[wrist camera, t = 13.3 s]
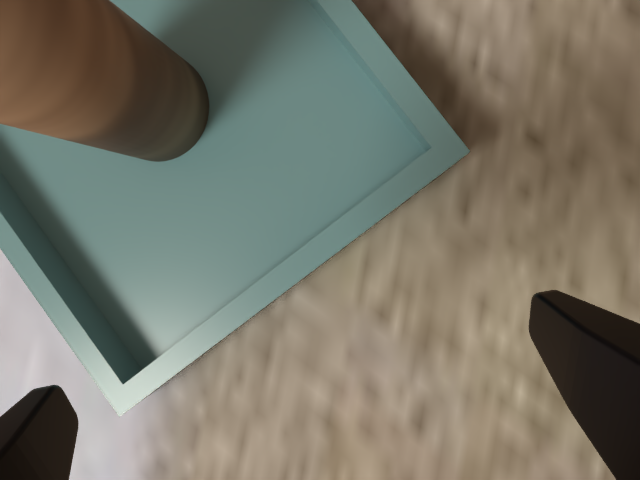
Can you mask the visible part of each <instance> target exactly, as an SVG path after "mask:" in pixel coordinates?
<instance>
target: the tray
mask: <svg viewBox="0 0 640 480" xmlns="http://www.w3.org/2000/svg"><path fill="white" fill-rule="evenodd" d="M110 1H111V2H112V3H114V4H115V5H116V6H117V7H119V8H120V9H121V10H122V11H124V12H125V13H126V14H127V15H129V16H130V17H131V18H133V19H134V20H135V21H136V22H138V23H139V24H140V25H141V26H143V27H144V28H145V29H146V30H148V31H149V32H150V33H151V34H153V35H154V36H155V37H156V38H158V39H159V40H160V41H162V42H163V43H164V44H165V45H167V46H168V47H169V48H170V49H172V50H173V51H174V52H175V53H177V54H178V55H179V56H180V57H182V58H183V59H184V60H186V61H187V62H188V63H189V64H190V65H192V66H193V67H194V68H195V69H196V71H197V72H198V73H199V75H200V76H201V78H202V79H203V81H204V83H205V86H206V89H207V92H208V97H209V116H208V121H207V124H206V127H205V129H204V132H203V134H202V135H201V137H200V139H199V140H198V141H197V143H196V144H195V145H194V146H193V147H192V148H191V149H190V150H189V151H187V152H186V153H185V154H183V155H181V156H179V157H177V158H175V159H172V160H168V161H161V162H154V161H148V160H143V159H139V158H135V157H131V156H127V155H123V154H119V153H115V152H111V151H107V150H103V149H99V148H95V147H91V146H87V145H83V144H79V143H75V142H71V141H67V140H63V139H59V138H55V137H51V136H47V135H43V134H39V133H35V132H31V131H27V130H23V129H19V128H15V127H11V126H7V125H3V124H0V249H1V250H2V251H3V253H4V254H5V256H6V257H7V258H8V260H9V261H10V263H11V264H12V266H13V267H14V268H15V270H16V271H17V273H18V274H19V275H20V277H21V278H22V280H23V281H24V283H25V284H26V285H27V287H28V288H29V290H30V291H31V292H32V294H33V295H34V297H35V298H36V300H37V301H38V302H39V304H40V305H41V307H42V308H43V309H44V311H45V312H46V314H47V315H48V317H49V318H50V319H51V321H52V322H53V324H54V325H55V326H56V328H57V329H58V331H59V332H60V334H61V335H62V336H63V338H64V339H65V341H66V342H67V343H68V345H69V346H70V348H71V349H72V350H73V352H74V353H75V355H76V356H77V358H78V359H79V360H80V362H81V363H82V365H83V366H84V367H85V369H86V370H87V372H88V373H89V375H90V376H91V377H92V379H93V380H94V382H95V383H96V384H97V386H98V387H99V389H100V390H101V392H102V393H103V394H104V396H105V397H106V399H107V400H108V401H109V403H110V404H111V406H112V407H113V409H114V410H115V411H116V413H117V414H118V416H119V417H120V416H121V415H123V414H124V413H126V412H127V411H128V410H130V409H131V408H132V407H134V406H135V405H136V404H138V403H139V402H141V401H142V400H143V399H145V398H146V397H147V396H149V395H150V394H151V393H153V392H154V391H155V390H157V389H158V388H159V387H161V386H162V385H163V384H165V383H166V382H167V381H169V380H170V379H171V378H173V377H174V376H175V375H176V374H178V373H179V372H180V371H182V370H183V369H184V368H186V367H187V366H188V365H190V364H191V363H192V362H194V361H195V360H196V359H198V358H199V357H200V356H202V355H203V354H204V353H206V352H207V351H208V350H210V349H211V348H212V347H214V346H215V345H216V344H217V343H219V342H220V341H221V340H223V339H224V338H225V337H227V336H228V335H229V334H231V333H232V332H233V331H235V330H236V329H237V328H239V327H240V326H241V325H243V324H244V323H245V322H247V321H248V320H249V319H251V318H252V317H253V316H255V315H256V314H257V313H259V312H260V311H261V310H262V309H264V308H265V307H266V306H268V305H269V304H270V303H272V302H273V301H274V300H276V299H277V298H278V297H280V296H281V295H282V294H284V293H285V292H286V291H288V290H289V289H290V288H292V287H293V286H294V285H296V284H297V283H298V282H300V281H301V280H302V279H303V278H305V277H306V276H307V275H309V274H310V273H311V272H313V271H314V270H315V269H317V268H318V267H319V266H321V265H322V264H323V263H325V262H326V261H327V260H329V259H330V258H331V257H333V256H334V255H335V254H337V253H338V252H339V251H341V250H342V249H343V248H344V247H346V246H347V245H348V244H350V243H351V242H352V241H354V240H355V239H356V238H358V237H359V236H360V235H362V234H363V233H364V232H366V231H367V230H368V229H370V228H371V227H372V226H374V225H375V224H376V223H378V222H379V221H380V220H382V219H383V218H384V217H386V216H387V215H388V214H389V213H391V212H392V211H393V210H395V209H396V208H397V207H399V206H400V205H401V204H403V203H404V202H405V201H407V200H408V199H409V198H411V197H412V196H413V195H415V194H416V193H417V192H419V191H420V190H421V189H423V188H424V187H425V186H427V185H428V184H429V183H430V182H432V181H433V180H434V179H436V178H437V177H438V176H440V175H441V174H442V173H444V172H445V171H446V170H448V169H449V168H450V167H452V166H453V165H454V164H456V163H457V162H458V161H460V160H461V159H462V158H463V157H464V156H466V155H467V154H468V153H469V152H470V151H469V149H468V148H467V147H466V145H465V144H464V143H463V142H462V140H461V139H460V138H459V137H458V135H457V134H456V133H455V131H454V130H453V129H452V128H451V126H450V125H449V124H448V123H447V121H446V120H445V119H444V117H443V116H442V115H441V114H440V112H439V111H438V110H437V109H436V107H435V106H434V105H433V103H432V102H431V101H430V100H429V98H428V97H427V96H426V95H425V93H424V92H423V91H422V89H421V88H420V87H419V86H418V84H417V83H416V82H415V81H414V79H413V78H412V77H411V75H410V74H409V73H408V72H407V70H406V69H405V68H404V67H403V65H402V64H401V63H400V61H399V60H398V59H397V58H396V56H395V55H394V54H393V53H392V51H391V50H390V49H389V47H388V46H387V45H386V44H385V42H384V41H383V40H382V39H381V37H380V36H379V35H378V33H377V32H376V31H375V30H374V28H373V27H372V26H371V25H370V23H369V22H368V21H367V19H366V18H365V17H364V16H363V14H362V13H361V12H360V11H359V9H358V8H357V7H356V5H355V4H354V3H353V2H352V0H110Z"/></svg>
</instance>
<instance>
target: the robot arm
mask: <svg viewBox="0 0 640 480" xmlns="http://www.w3.org/2000/svg"><path fill="white" fill-rule="evenodd" d="M529 333H530V336H531V339H532V341H533V343H534V345H535V347H536V348H537V350H538V352H539V354H540V356H541V358H542V360H543V362H544V364H545V365H546V367H547V369H548V371H549V373H550V375H551V377H552V379H553V380H554V382H555V384H556V386H557V388H558V390H559V392H560V394H561V396H562V397H563V399H564V401H565V403H566V404H567V406H568V408H569V410H570V411H571V413H572V414H573V416H574V417H575V419H576V420H577V422H578V423H579V425H580V426H581V428H582V429H583V431H584V432H585V434H586V435H587V437H588V438H589V440H590V441H591V443H592V444H593V446H594V447H595V449H596V450H597V452H598V453H599V455H600V456H601V458H602V459H603V461H604V462H605V463H606V465H607V466H608V468H609V469H610V471H611V472H612V474H613V475H614V477H615V478H616V480H640V324H639V323H637V322H634V321H632V320H629V319H627V318H624V317H622V316H619V315H617V314H614V313H612V312H609V311H607V310H605V309H602V308H600V307H597V306H595V305H592V304H590V303H587V302H585V301H582V300H580V299H577V298H575V297H572V296H570V295H568V294H565V293H563V292H560V291H557V290H550V291H544V292H539V293H536V294H534V295H533V297H532V300H531V309H530V319H529ZM77 432H78V417H77V414H76V412H75V410H74V409H73V407H72V405H71V403H70V402H69V400H68V398H67V396H66V395H65V393H64V391H63V390H62V388H61V387H59V386H58V385H51V386H46V387H40V388H36V389H34V390H32V391H30V392H29V393H28V394H27V395H26V396H24V397H23V398H22V399H21V400H20V401H19V402H17V403H16V404H15V405H14V406H13V407H11V408H10V409H9V410H8V411H7V412H5V413H4V414H3V415H2V416H1V417H0V480H69V476H70V470H71V465H72V459H73V454H74V448H75V443H76V437H77Z"/></svg>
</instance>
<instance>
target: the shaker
mask: <svg viewBox="0 0 640 480" xmlns="http://www.w3.org/2000/svg"><path fill="white" fill-rule="evenodd" d="M208 116H209V97H208V92H207V89H206V86H205V83H204V81H203V79H202V78H201V76H200V75H199V73H198V72H197V71H196V69H195V68H194V67H193V66H192V65H190V64H189V63H188V62H187V61H186V60H184V59H183V58H182V57H180V56H179V55H178V54H177V53H175V52H174V51H173V50H172V49H170V48H169V47H168V46H167V45H165V44H164V43H163V42H162V41H160V40H159V39H158V38H156V37H155V36H154V35H153V34H151V33H150V32H149V31H148V30H146V29H145V28H144V27H143V26H141V25H140V24H139V23H138V22H136V21H135V20H134V19H133V18H131V17H130V16H129V15H127V14H126V13H125V12H124V11H122V10H121V9H120V8H119V7H117V6H116V5H115V4H114V3H112V2H111V1H110V0H0V124H3V125H7V126H11V127H15V128H19V129H23V130H27V131H31V132H35V133H39V134H43V135H47V136H51V137H55V138H59V139H63V140H67V141H71V142H75V143H79V144H83V145H87V146H91V147H95V148H99V149H103V150H107V151H111V152H115V153H119V154H123V155H127V156H131V157H135V158H139V159H143V160H148V161H154V162H161V161H168V160H172V159H175V158H177V157H179V156H181V155H183V154H185V153H186V152H187V151H189V150H190V149H191V148H192V147H193V146H194V145H195V144H196V143H197V141H198V140H199V139H200V137H201V135H202V134H203V132H204V129H205V127H206V124H207V121H208Z"/></svg>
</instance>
